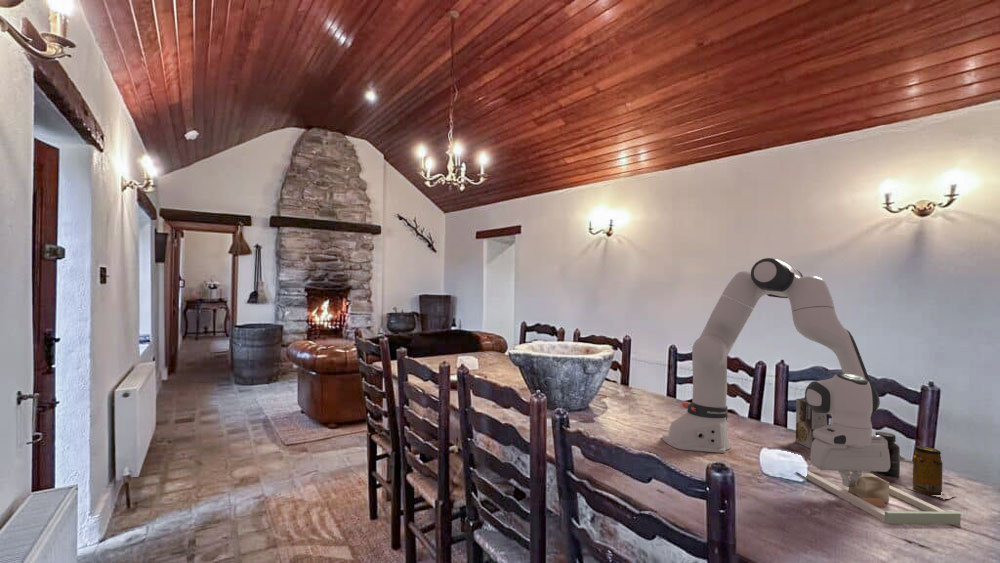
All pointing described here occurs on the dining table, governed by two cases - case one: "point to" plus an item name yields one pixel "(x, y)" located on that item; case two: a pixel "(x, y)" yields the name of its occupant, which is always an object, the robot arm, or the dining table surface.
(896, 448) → the supplement bottle
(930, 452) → the condiment
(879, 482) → the oak block
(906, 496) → the frame
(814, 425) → the coffee box
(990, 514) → the dining table surface
